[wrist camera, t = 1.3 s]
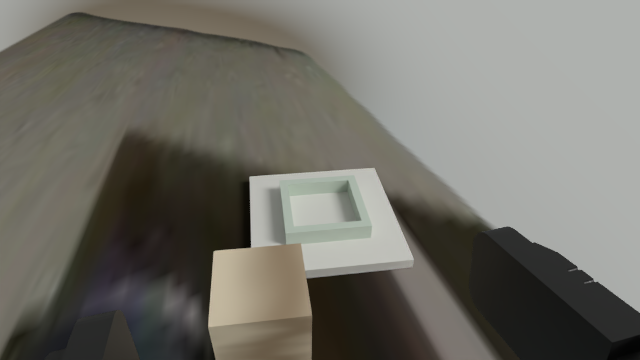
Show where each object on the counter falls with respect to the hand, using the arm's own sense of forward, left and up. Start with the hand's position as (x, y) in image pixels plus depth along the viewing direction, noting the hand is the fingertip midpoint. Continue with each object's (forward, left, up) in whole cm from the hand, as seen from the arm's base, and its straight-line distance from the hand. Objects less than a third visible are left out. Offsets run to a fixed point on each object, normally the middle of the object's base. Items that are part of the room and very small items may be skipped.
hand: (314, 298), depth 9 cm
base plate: (-15, +20, -20) cm, 32 cm away
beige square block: (-7, +4, -21) cm, 22 cm away
